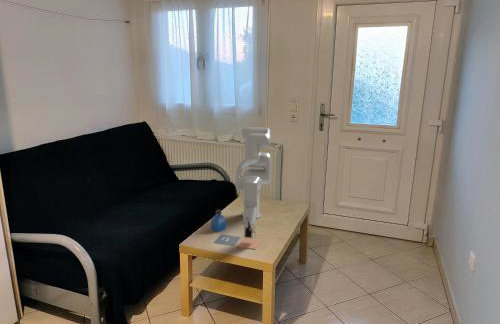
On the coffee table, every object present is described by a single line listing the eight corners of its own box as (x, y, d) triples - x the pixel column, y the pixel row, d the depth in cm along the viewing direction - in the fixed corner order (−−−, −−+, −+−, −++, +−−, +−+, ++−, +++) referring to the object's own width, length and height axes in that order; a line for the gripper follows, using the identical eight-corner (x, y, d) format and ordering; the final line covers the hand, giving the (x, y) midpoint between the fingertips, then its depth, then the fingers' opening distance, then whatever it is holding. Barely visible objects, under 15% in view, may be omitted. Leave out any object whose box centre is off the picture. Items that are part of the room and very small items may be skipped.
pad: (244, 237, 202) (244, 236, 202) (261, 240, 200) (261, 239, 199) (237, 247, 191) (237, 246, 191) (255, 249, 188) (255, 248, 188)
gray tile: (221, 234, 206) (221, 234, 206) (241, 237, 203) (241, 237, 203) (213, 243, 195) (213, 242, 195) (233, 246, 192) (233, 246, 192)
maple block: (246, 234, 197) (247, 222, 196) (255, 235, 196) (255, 223, 194) (244, 237, 193) (244, 225, 191) (252, 238, 191) (253, 226, 190)
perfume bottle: (211, 229, 213) (211, 210, 210) (219, 226, 217) (219, 207, 215) (217, 232, 209) (217, 213, 206) (226, 229, 213) (226, 210, 210)
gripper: (248, 197, 199) (247, 227, 203) (238, 207, 183) (238, 240, 187) (261, 198, 197) (260, 229, 201) (252, 208, 181) (252, 242, 185)
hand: (249, 234), depth 194 cm, fingers closed on maple block, 4 cm apart
